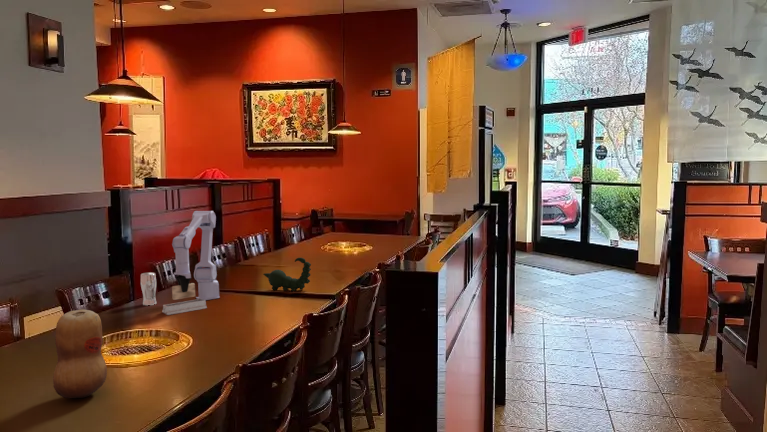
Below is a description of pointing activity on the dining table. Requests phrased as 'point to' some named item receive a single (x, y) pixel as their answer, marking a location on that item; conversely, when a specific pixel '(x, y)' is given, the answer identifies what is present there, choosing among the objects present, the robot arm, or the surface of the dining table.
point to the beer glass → (148, 288)
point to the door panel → (179, 294)
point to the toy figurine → (289, 278)
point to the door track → (184, 306)
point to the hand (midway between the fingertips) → (183, 291)
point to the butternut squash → (79, 354)
